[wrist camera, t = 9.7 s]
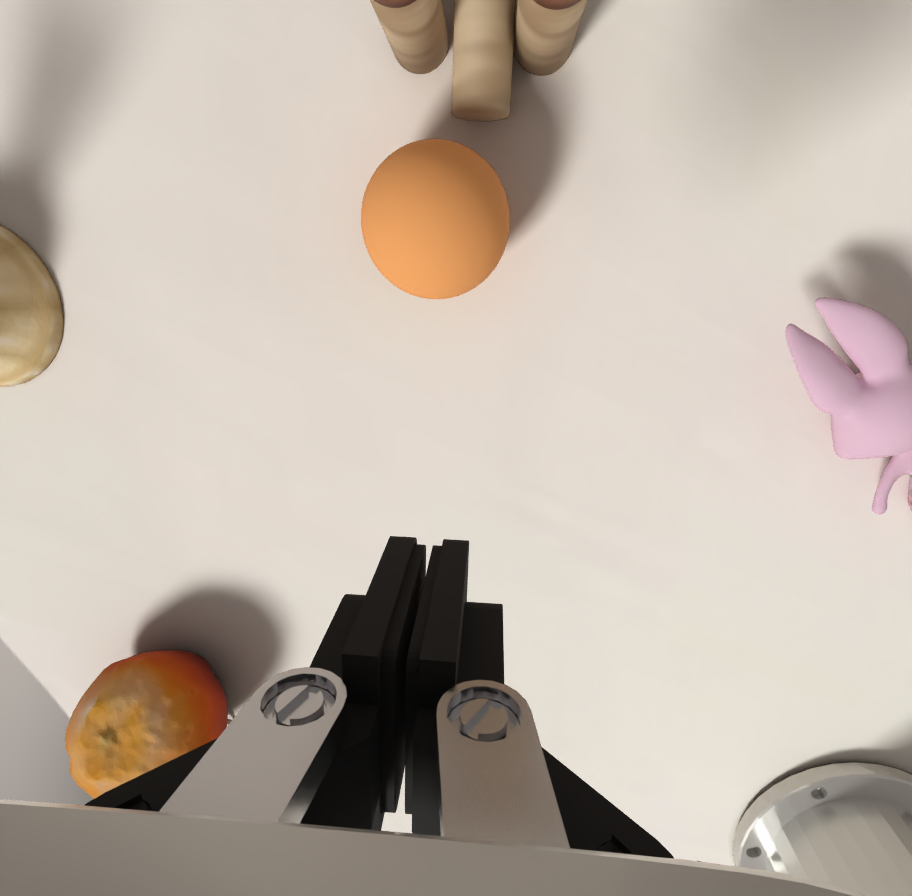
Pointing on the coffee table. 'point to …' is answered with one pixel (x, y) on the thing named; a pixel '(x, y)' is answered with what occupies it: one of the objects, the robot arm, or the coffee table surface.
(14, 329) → the hand bell
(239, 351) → the coffee table surface
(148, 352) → the coffee table surface
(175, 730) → the fruit
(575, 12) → the pin
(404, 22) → the pin
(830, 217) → the coffee table surface
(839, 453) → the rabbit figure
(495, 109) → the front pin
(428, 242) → the ball
